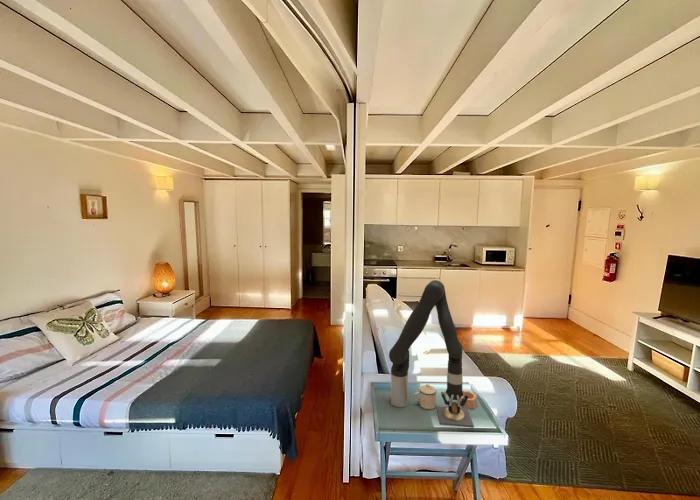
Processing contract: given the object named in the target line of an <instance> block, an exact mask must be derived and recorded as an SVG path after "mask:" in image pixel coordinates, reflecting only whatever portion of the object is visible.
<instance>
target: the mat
mask: <svg viewBox="0 0 700 500" xmlns="http://www.w3.org/2000/svg"><path fill="white" fill-rule="evenodd" d="M447 407H448V406H443V405H442V406H440V405H436V411H437V412H436V413H437V415H438V423H439V425H442V426H451V427H452V426H453V427H454V426H455V427H464V428H474V427H475V425H474V422H473V420H472V417H471V415H470V411H469V409H468V408H463V407H460V410H462V411H463V412H464V419H463V420H461V421H453V420H450V419H448V418H447V417H445V415H444V409H445V408H447Z"/></svg>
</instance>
